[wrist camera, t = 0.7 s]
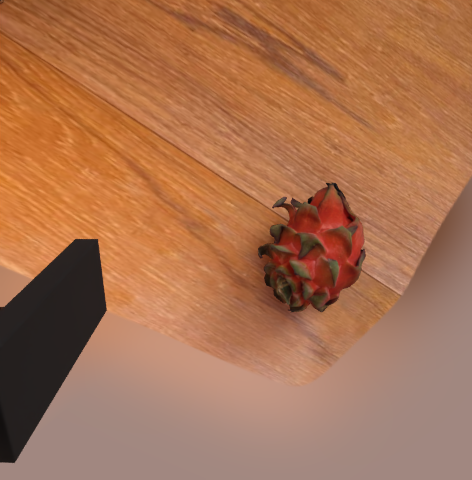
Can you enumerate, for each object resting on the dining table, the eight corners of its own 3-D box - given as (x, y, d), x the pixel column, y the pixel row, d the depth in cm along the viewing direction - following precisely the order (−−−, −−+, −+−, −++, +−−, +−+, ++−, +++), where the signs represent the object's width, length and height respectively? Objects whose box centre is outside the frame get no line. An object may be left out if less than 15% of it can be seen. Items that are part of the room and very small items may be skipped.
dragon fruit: (264, 313, 42) (305, 204, 45) (351, 341, 37) (389, 218, 41) (228, 284, 35) (279, 157, 38) (329, 313, 30) (377, 167, 34)
